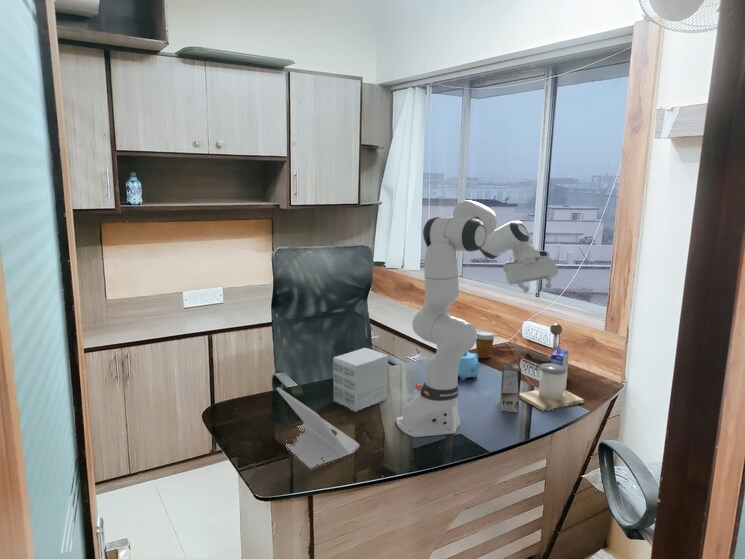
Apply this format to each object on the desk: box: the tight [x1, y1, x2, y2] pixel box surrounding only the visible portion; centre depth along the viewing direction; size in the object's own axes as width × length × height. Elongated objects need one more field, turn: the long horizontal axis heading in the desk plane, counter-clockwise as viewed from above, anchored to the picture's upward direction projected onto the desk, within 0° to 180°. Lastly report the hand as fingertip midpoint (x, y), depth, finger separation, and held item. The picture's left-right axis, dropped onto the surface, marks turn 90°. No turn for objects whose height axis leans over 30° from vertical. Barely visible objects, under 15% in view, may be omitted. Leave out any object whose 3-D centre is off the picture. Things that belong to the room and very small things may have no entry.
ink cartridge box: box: [550, 345, 569, 372], centre depth 222 cm, size 10×6×14 cm, turn 148°
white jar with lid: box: [538, 362, 568, 401], centre depth 201 cm, size 11×10×12 cm
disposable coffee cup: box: [475, 329, 496, 359], centre depth 250 cm, size 10×10×12 cm
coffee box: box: [499, 362, 523, 413], centre depth 193 cm, size 9×6×16 cm
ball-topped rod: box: [549, 323, 563, 351], centre depth 197 cm, size 4×4×10 cm
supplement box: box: [332, 347, 389, 413], centre depth 197 cm, size 17×13×18 cm
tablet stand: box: [276, 386, 360, 468], centre depth 164 cm, size 18×25×17 cm
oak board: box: [519, 389, 584, 412], centre depth 201 cm, size 20×14×2 cm
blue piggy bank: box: [458, 351, 481, 380], centre depth 224 cm, size 15×14×11 cm
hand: (537, 289), depth 199 cm, fingers open, 8 cm apart
